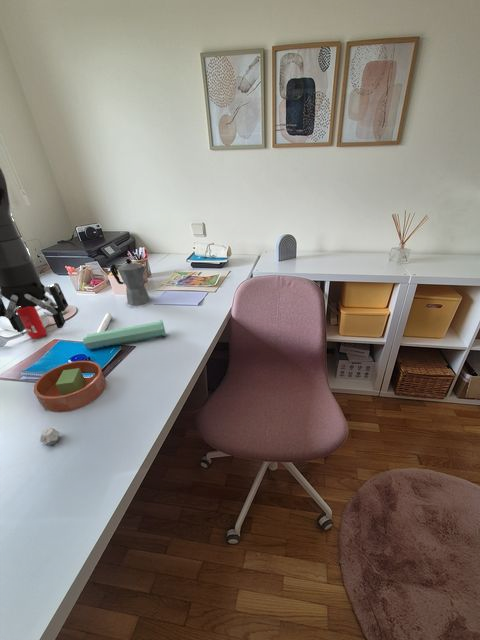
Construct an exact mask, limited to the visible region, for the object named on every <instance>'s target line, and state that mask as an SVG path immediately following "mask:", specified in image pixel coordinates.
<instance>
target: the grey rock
mask: <svg viewBox="0 0 480 640" xmlns="http://www.w3.org/2000/svg"><path fill="white" fill-rule="evenodd" d="M59 435H60V431H58V430H57V429H55V428H52V427H49V428H46V429H44V430H42V432H41V435H40V439H39V442H40V443H42V444H44V445H46V446H52V445H54V444H57V443H58V439H59Z"/></svg>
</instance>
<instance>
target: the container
mask: <svg viewBox="0 0 480 640" xmlns="http://www.w3.org/2000/svg"><path fill="white" fill-rule="evenodd" d="M166 334H167V333H166V330H165V325H164V321H163V319H159V321H154V322H148V323H142V324H137V325H132V326H127V327H120V328H115V329H110V330H105V331H104V332H98V333H97V332H93V333H87V334H85V335H84V336H83V338H82V341H83V345H84V348H85V349H87V350H96V349H99V348H98V347H101V348H104V347H103V346H106V347H109V346H108V345H112V347H113V346H117V345H123V344H128V343H133V342H138V341H145V340H149V339H153V338H159V337H163V338H166V337H167V335H166ZM106 347H105V348H106ZM93 348H95V349H93ZM101 348H100V349H101Z"/></svg>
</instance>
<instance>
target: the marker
mask: <svg viewBox="0 0 480 640" xmlns="http://www.w3.org/2000/svg"><path fill="white" fill-rule="evenodd" d="M111 319H113V314H112V313H111V312H108V313H106V314H105V316H104V318H103V320H102V321H101V324H100V326H99V327H98V329H97V331H96V333H98V332H104V331H107V327H108V326H109V324H110V322H111Z"/></svg>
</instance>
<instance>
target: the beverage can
mask: <svg viewBox="0 0 480 640" xmlns="http://www.w3.org/2000/svg"><path fill="white" fill-rule="evenodd" d="M16 314H19V316H20V318H21V320H22V322H23V324H24V326H25V329H24V330H25V331H26V333H27V335H28V337H30V338H31V339H33V340H37V339H41V338H43V337H45V336H46V335H47V329H46V327H45V325H44V323H43V320H42V319H41V317H40V315H39V312H38V311H37V308H36V307H30V306H28V307H25V308H21V307H19V308H18V310H17V313H16Z"/></svg>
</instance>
